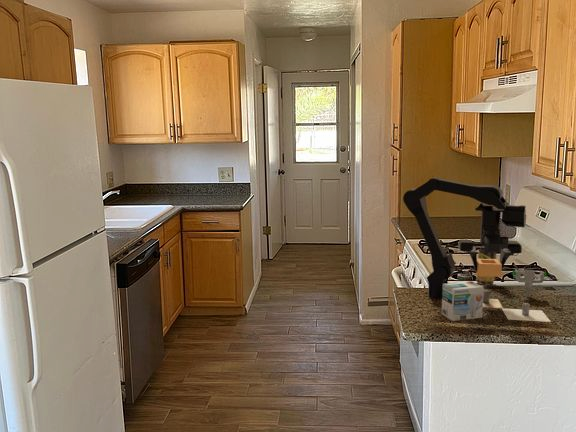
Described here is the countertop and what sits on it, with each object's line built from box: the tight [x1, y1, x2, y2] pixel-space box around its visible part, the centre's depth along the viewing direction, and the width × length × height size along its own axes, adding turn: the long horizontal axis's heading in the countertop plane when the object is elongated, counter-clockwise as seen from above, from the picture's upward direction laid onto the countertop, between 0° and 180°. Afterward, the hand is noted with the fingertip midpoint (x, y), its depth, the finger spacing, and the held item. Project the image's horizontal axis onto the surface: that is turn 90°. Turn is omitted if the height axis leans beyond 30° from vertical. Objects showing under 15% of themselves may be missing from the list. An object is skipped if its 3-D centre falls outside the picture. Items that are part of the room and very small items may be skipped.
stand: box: [483, 289, 504, 309], centre depth 180 cm, size 9×9×5 cm
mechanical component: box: [512, 268, 547, 298], centre depth 186 cm, size 3×10×10 cm, turn 78°
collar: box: [475, 258, 503, 278], centre depth 179 cm, size 7×7×4 cm
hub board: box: [501, 302, 552, 323], centre depth 169 cm, size 12×10×4 cm
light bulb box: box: [440, 280, 485, 324], centre depth 168 cm, size 11×7×11 cm, turn 106°
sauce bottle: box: [476, 249, 497, 286], centre depth 204 cm, size 6×6×20 cm
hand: (487, 271), depth 179 cm, fingers closed on collar, 7 cm apart
